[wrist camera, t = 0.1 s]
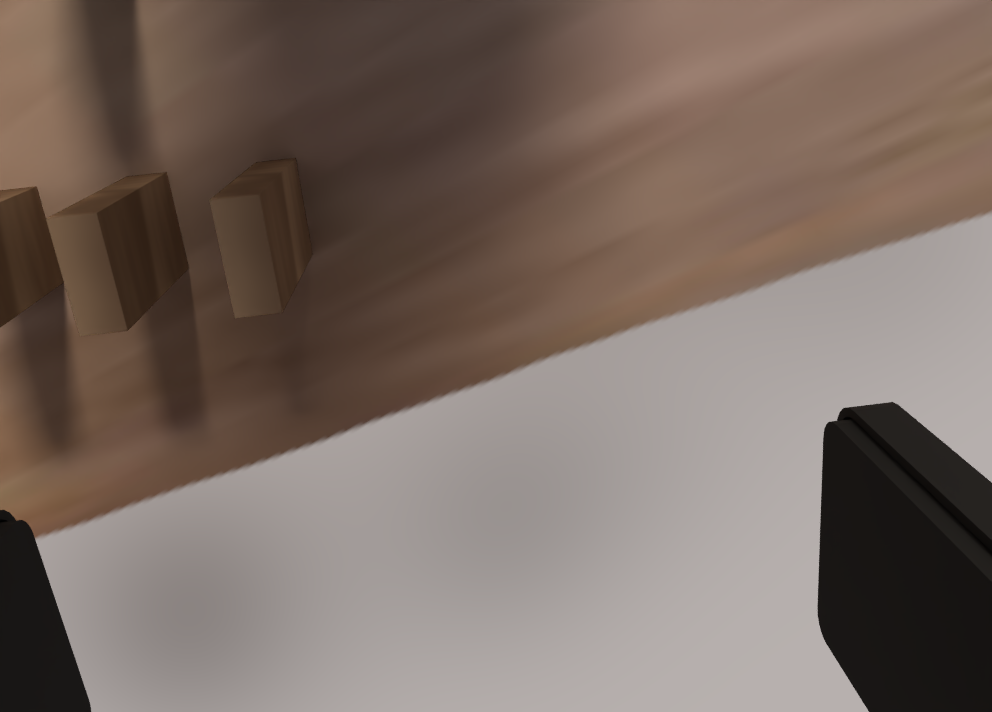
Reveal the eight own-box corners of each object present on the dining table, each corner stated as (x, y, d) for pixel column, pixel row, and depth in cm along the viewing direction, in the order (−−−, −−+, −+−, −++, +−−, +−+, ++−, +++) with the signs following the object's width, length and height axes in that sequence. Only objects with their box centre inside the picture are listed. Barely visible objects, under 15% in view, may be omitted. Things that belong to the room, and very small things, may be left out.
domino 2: (150, 272, 47) (79, 336, 37) (126, 176, 45) (46, 218, 35) (188, 268, 47) (127, 330, 37) (166, 172, 45) (96, 213, 35)
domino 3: (274, 258, 47) (234, 318, 37) (256, 162, 45) (209, 200, 36) (312, 254, 47) (282, 312, 37) (295, 158, 45) (259, 194, 36)
